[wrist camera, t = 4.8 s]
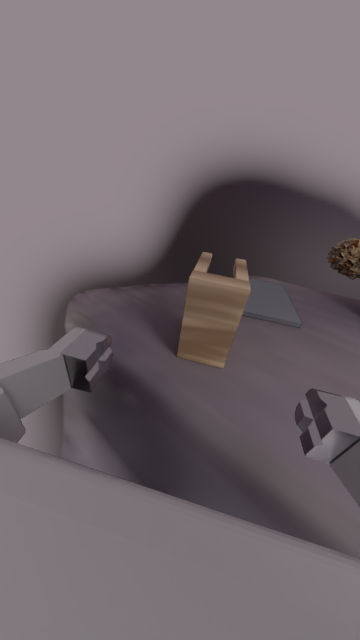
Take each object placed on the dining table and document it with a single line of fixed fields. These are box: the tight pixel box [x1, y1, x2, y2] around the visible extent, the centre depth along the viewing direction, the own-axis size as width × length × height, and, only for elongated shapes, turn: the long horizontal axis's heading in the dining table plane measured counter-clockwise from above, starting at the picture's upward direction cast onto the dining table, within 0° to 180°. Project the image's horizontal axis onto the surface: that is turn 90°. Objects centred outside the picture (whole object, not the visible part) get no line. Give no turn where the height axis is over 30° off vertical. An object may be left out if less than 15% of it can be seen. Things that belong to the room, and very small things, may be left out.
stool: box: [177, 252, 251, 369], centre depth 25 cm, size 9×6×10 cm, turn 167°
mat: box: [242, 278, 302, 328], centre depth 40 cm, size 16×11×1 cm
